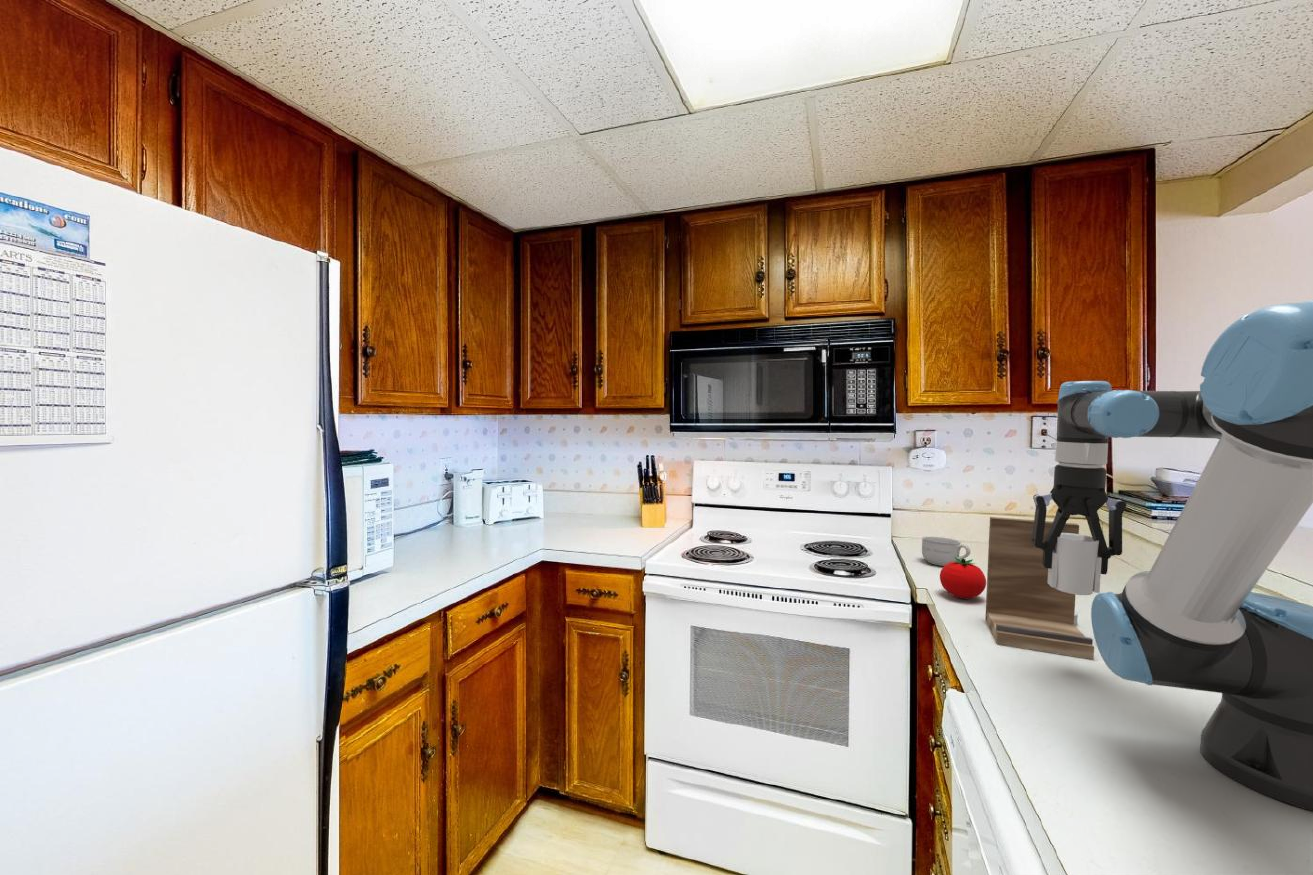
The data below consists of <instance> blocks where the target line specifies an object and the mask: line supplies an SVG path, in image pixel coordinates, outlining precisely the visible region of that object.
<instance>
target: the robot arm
mask: <svg viewBox="0 0 1313 875" xmlns="http://www.w3.org/2000/svg"><path fill="white" fill-rule="evenodd" d="M1202 364H1203V365H1202V366H1201V373H1200V376H1201V377H1202V378H1204V379H1203V382H1201V383H1200V385H1199V390H1191V391H1190V390H1186V391H1185V390H1183V391H1182V390H1179V391H1177V390H1132V389H1115V390H1114V389H1113V388H1112V384H1111V383H1110V382H1108V381H1106V380H1105V381H1104V380H1082V381H1081V380H1080V381H1077V380H1076V381H1065V382H1063V383H1062V384H1061V385H1060V387H1059V393H1058V398H1057V400H1056V401H1057V415H1056V416H1057V417H1056V418H1057V420H1056V437H1055V438H1056V444H1055V455H1054V456H1055V457H1054V461H1055V462H1056V463H1058V464H1056V465H1055V466H1054V469H1053V470H1054V474H1053V486H1052V488H1051V490H1050V491H1049V493H1044V494H1033V502H1034V504H1035V511H1034V518H1033V520H1034V526H1033V534H1032V544H1033V545H1035V546H1036V547H1037V548H1040V549H1043V561H1042V564H1043V566H1044V567H1045V568H1048V584H1049V585H1050V586H1051V587H1053V588H1056V585H1057V568H1058V554H1057V553H1056V552H1054V548H1055V546H1056V544H1057V542H1058V537H1060V535H1061V533H1062V531H1063V528H1064V526H1065V524H1066V523H1068V522H1067V521H1068V520H1069V519H1070V517H1071V516H1083V517H1085V518H1084V519H1085V520H1086V521H1087V525H1088V528H1089V532H1090V536H1091V537H1092V538H1093V540H1094V541H1098V540H1099V545H1098V553H1097V559H1096V569H1095V577H1094V586H1093V593H1094V594H1095V593H1096V595H1095V596H1094V597H1093V600H1092V603H1091V611H1090V612H1091V613H1090V618H1091V620H1090V621H1091V628H1092V632H1093V638H1094V640H1095V643H1096V647H1097V649H1098V652H1099V655H1100V656H1101V658H1102V661H1103V662H1104V664H1105V666H1106V667H1107V668H1108V669H1109V670H1110V671H1111V672H1112V673H1113V674H1114V675H1115V676H1117V677H1120V678H1121V679H1122V680H1126V681H1131V682H1135V683H1141V684H1145V685H1146V686H1161V687H1169V688H1177V689H1186V690H1193V691H1194V690H1195V691H1202V692H1210V693H1217V694H1218V693H1219V694H1221V698H1220V702H1219V703H1218V705H1217V707H1216V708H1215V710H1214V711H1213V713H1212V714H1211V716H1210V717H1209V719H1208V721H1207V722H1206V724H1205V726H1204V727H1203V728H1202V730H1201V733H1200V743H1199V751H1200V753H1201V755H1202V756H1203V758H1205V759H1206V760H1207V762H1208V763H1210V764H1211V765H1212V766H1214V767H1215V768H1216V769H1217V770H1218V771H1220V772H1221V773H1223V774H1225V775H1227V776H1228V777H1229V778H1231V779H1233V781H1236V782H1238V783H1240V784H1242V785H1244V786H1246V787H1248V788H1250V789H1252V790H1254V791H1257V792H1259V793H1261V794H1263V795H1265V796H1268V797H1270V798H1273V799H1276V800H1278V801H1281V802H1284V803H1287V804H1289V805H1292V806H1295V807H1298V808H1301V809H1305V810H1309V811H1312V812H1313V606H1312V605H1308V604H1306V603H1301V602H1298V601H1293V600H1289V599H1286V598H1282V597H1277V596H1273V595H1268V594H1264V593H1257V592H1252V591H1253V589H1254V588H1255V586H1256V585H1257V583H1258V582H1259V581H1260V579H1261V578H1262V576H1263V575H1264V573H1265V572H1266V570H1267V569H1268V568H1269V566H1270V565H1271V564H1272V562H1273V560H1274V559H1275V557H1276V556H1277V555H1278V554H1279V552H1280V550H1281V549H1282V548H1283V547H1284V544H1286V542H1287V540H1289V538H1290V536H1291V535H1292V533H1293V532H1294V531H1295V529H1296V527H1297V526H1298V525H1299V524H1300V522H1301V521H1302V519H1303V517H1304V516H1305V515H1306V513H1307V512H1308V510H1309V509H1310V508H1311V506H1312V505H1313V299H1311V300H1306V301H1302V302H1292V303H1291V302H1290V303H1280V304H1278V303H1277V304H1272V305H1267V306H1264V307H1261V308H1259V309H1257V310H1255V311H1252V312H1249V313H1248V314H1246V315H1242V316H1241V317H1240V318H1238V319H1237V320H1236V321H1234V322H1233V323H1232V324H1230V325H1228V327H1227V328H1226V329H1224V330H1223V332H1221V334H1220V335H1219V336H1218V337H1217V338H1216V340H1215V341H1214V343H1213V344H1212V346H1211V347H1210V349H1209V350H1208V352H1207V355H1206V356H1205V359H1204V361H1203V363H1202ZM1112 389H1113V390H1112ZM1109 438H1113V439H1114V438H1115V439H1117V438H1118V439H1119V438H1122V439H1129V438H1194V439H1217V440H1218V442H1217V444H1216V445H1215V448H1214V449H1213V451H1212V453H1211V455H1210V457H1209V459H1208V461H1207V462H1206V465H1205V467H1204V468H1203V470H1202V472H1201V473H1200V476H1199V478H1198V479H1197V481H1196V484H1194V488H1193V489H1192V491H1191V493H1190V495H1189V496H1188V498H1187V501H1186V502H1185V504H1184V506H1183V507H1182V510H1181V512H1180V514H1179V516H1178V517H1177V519H1176V521H1175V523H1174V524H1173V527H1172V529H1171V530H1170V533H1169V534H1168V536H1167V539H1166V540H1165V542H1164V544H1163V546H1162V548H1161V550H1160V551H1159V553H1158V555H1157V558H1156V559H1155V561H1154V563H1153V565H1152V567H1151V569H1150V570H1146V571H1141V572H1138V573H1136V574H1134V575H1132V576H1131V577H1130V578H1129V579H1128V580H1127V582H1126V584H1124V587H1123V589H1122V592H1120V593H1115V592H1112V591H1107V592H1101V590H1100V588H1101V577H1102V575H1107V574H1108V569H1109V568H1108V567H1109V559H1111V558H1112V557H1113V556H1114V557H1115V556H1121V555H1122V554H1123V514H1124V512H1125V509H1126V507H1127V503H1126V502H1125V501H1123V500H1121V499H1118V498H1117V499H1115V498H1111V497H1109V495H1108V494H1107V492H1106V486H1107V485H1106V483H1107V481H1106V480H1107V469H1106V468H1105V467H1103V466H1106V465H1108V451H1109ZM1051 500H1052V501H1053V502H1054V504H1055V505H1056V506H1057V510H1056V512H1055V516H1054V518H1053V521H1052V522H1053V523H1052V525H1051V528H1050V530H1049V532H1048V534H1047V537H1046V539H1045V541H1044V542H1043V537H1044V528H1045V521H1046V520H1047V513H1048V512H1047V510H1048V509H1047V507H1049V505H1050V501H1051ZM1105 504H1106V508H1107V510H1108V543H1107V542H1106V539H1105V535H1104V531H1103V528H1102V526H1101V522H1100V517H1099V513H1098V511H1099V510H1100V509H1102V507H1103V506H1104V505H1105Z"/></svg>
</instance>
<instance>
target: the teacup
mask: <svg viewBox="0 0 1313 875" xmlns="http://www.w3.org/2000/svg"><path fill="white" fill-rule="evenodd" d="M921 539H922V541H921V554H922V558H924V559H925V560H926V561H927V562H928V563H929V564H932V565H936V566H940V567H944V566H945V565H946V564H948V563H950V562H954V561H957V560H956V559H955V557H956V558H958V559H960V560H961V559H966V558H968V557H969V556H970V554H971V548H970V547H969V546H968V545H967V544H965V543H963V544H962V543H961V541H960V540H958V539H955V538H954V539H953V538H949V537H943V536H934V535H933V536H930V535H929V536H926V535H925V536H922V537H921ZM961 548H963V549H965V554H964V555H961V556H960V551H961ZM951 560H952V561H951Z"/></svg>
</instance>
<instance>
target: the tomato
mask: <svg viewBox="0 0 1313 875" xmlns="http://www.w3.org/2000/svg"><path fill="white" fill-rule="evenodd" d="M955 559H956V560H957V561H954V562H950V563H948V564H946V565H945V566H942V568H941V570H940V573H939V581H940V584H941V586H942V588H943V589H944V591H946V592H947V593H949V594H950V595H952V596H953V597H956V598H959V599H973V598H976V597H979V596H980V595H981V594H982V593H983V592H984V591H985V589H986V588H987V578H986V575H985V574H984V572H983V570H982V569H981V568H980V567H978V566H977V565H975V564H977V563H976V562H973V561H974V559H969V560H966V558H964V559H961V560H960V559H958V558H956V557H955ZM951 561H952V560H951Z"/></svg>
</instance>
